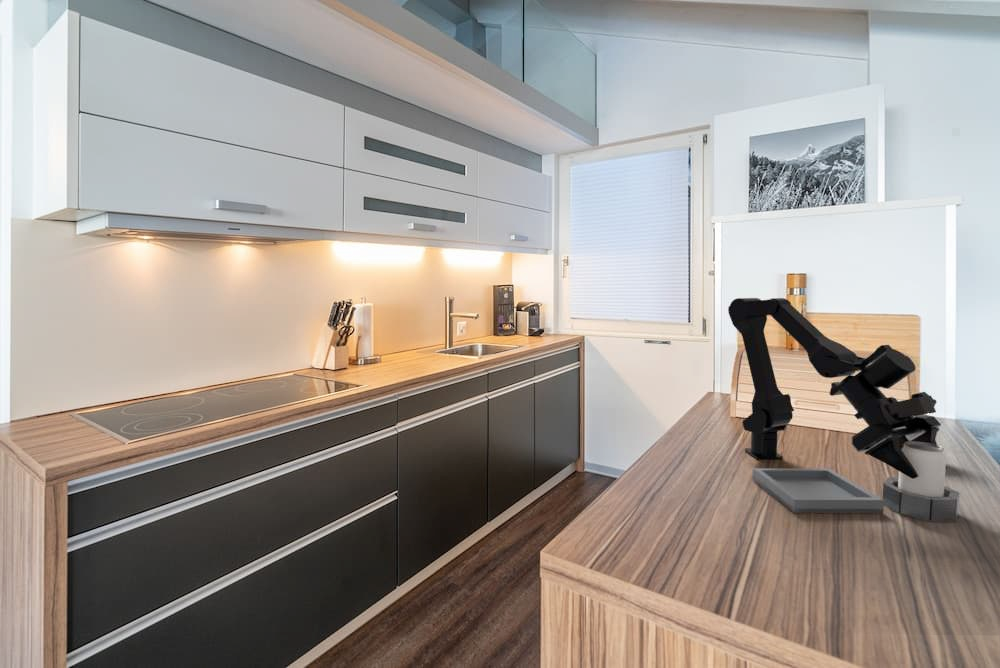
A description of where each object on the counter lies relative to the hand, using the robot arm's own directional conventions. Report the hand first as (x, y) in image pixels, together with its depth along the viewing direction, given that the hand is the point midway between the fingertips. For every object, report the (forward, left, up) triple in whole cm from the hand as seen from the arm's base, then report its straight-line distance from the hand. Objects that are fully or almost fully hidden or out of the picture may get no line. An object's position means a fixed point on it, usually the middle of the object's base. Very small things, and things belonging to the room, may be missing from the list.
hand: (930, 473), depth 91 cm
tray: (-7, -17, -7) cm, 20 cm away
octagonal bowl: (-1, -1, -7) cm, 7 cm away
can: (-1, -1, -7) cm, 8 cm away
